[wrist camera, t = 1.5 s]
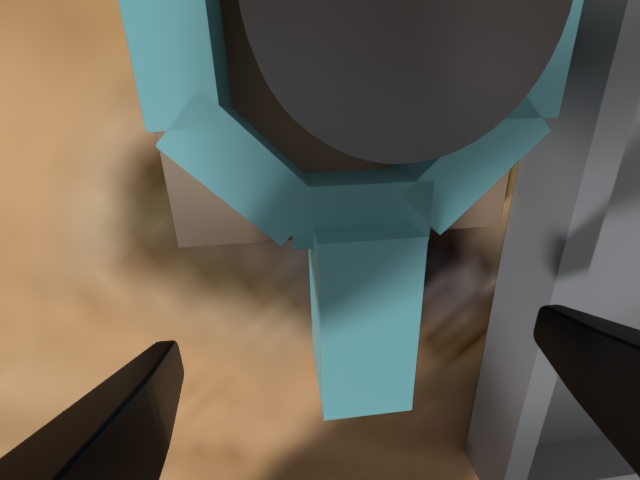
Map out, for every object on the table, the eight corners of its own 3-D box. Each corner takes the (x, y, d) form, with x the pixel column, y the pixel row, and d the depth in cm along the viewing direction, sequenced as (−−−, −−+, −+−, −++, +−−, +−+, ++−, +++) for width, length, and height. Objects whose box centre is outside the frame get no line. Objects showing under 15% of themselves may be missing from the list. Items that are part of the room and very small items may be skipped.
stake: (482, 216, 11) (643, 298, 6) (187, 235, 11) (100, 349, 5) (543, -182, 8) (1029, -728, 3) (105, -207, 7) (-385, -1109, 2)
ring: (468, 330, 12) (525, 396, 9) (216, 355, 11) (194, 436, 8) (552, -190, 7) (727, -386, 4) (113, -217, 6) (-21, -484, 3)
